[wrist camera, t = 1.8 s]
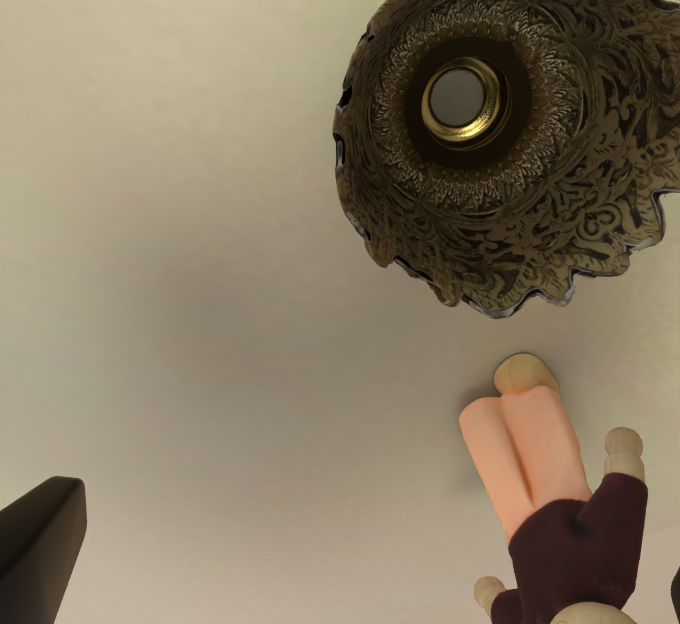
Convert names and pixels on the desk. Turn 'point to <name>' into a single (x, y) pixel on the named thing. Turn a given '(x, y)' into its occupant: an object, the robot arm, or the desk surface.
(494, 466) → the grandmother figurine
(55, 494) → the robot arm
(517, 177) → the cup
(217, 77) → the desk surface
